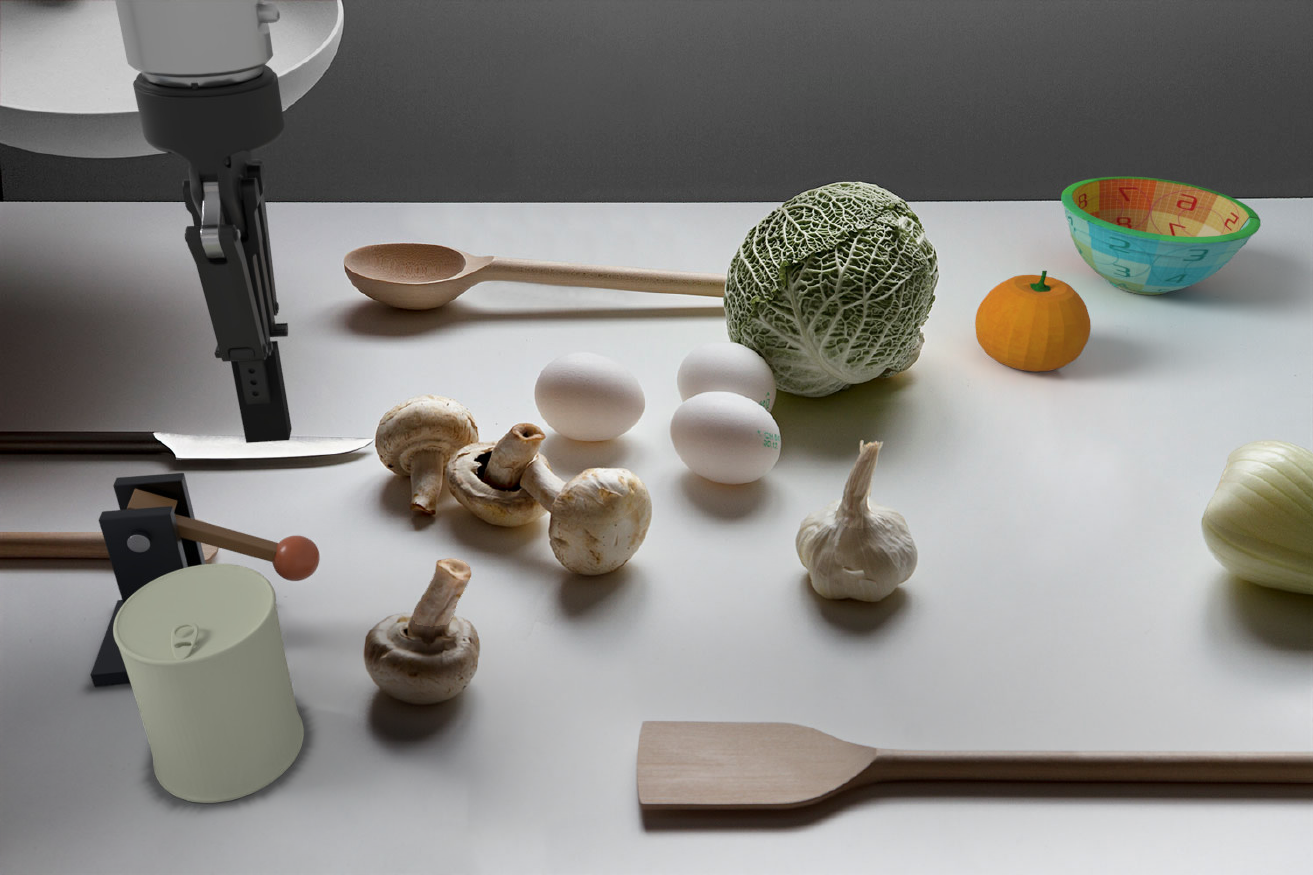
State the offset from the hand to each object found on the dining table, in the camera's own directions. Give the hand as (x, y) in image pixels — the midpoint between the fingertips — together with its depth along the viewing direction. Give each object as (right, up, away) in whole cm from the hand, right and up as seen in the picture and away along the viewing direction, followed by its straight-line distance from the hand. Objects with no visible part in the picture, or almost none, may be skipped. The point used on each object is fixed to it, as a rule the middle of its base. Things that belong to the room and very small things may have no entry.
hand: (269, 435), depth 74 cm
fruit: (+65, +8, +48) cm, 82 cm away
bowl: (+85, +19, +66) cm, 109 cm away
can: (-2, -20, -1) cm, 20 cm away
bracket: (-9, -15, +7) cm, 19 cm away
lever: (-5, -8, +4) cm, 11 cm away
